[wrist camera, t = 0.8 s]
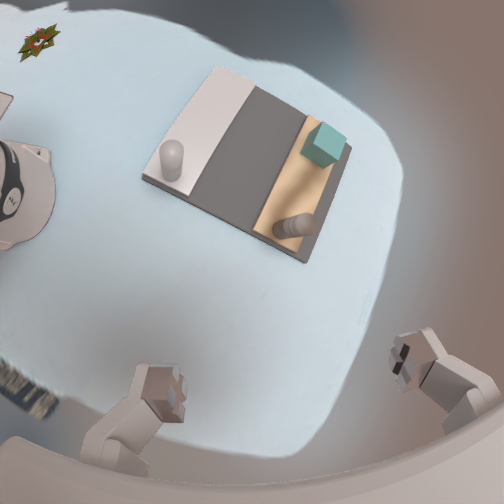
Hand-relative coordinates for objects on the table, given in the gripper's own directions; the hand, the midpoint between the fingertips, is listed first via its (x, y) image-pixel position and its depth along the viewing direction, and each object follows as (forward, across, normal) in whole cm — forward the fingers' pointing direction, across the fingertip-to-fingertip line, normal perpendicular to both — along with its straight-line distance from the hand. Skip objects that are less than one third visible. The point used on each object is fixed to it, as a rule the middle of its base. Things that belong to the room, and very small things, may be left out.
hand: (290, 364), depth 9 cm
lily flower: (+46, +44, -38) cm, 74 cm away
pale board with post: (+40, +7, -7) cm, 41 cm away
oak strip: (+39, -8, +4) cm, 40 cm away
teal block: (+42, -11, 0) cm, 43 cm away
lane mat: (+41, -1, 0) cm, 41 cm away
